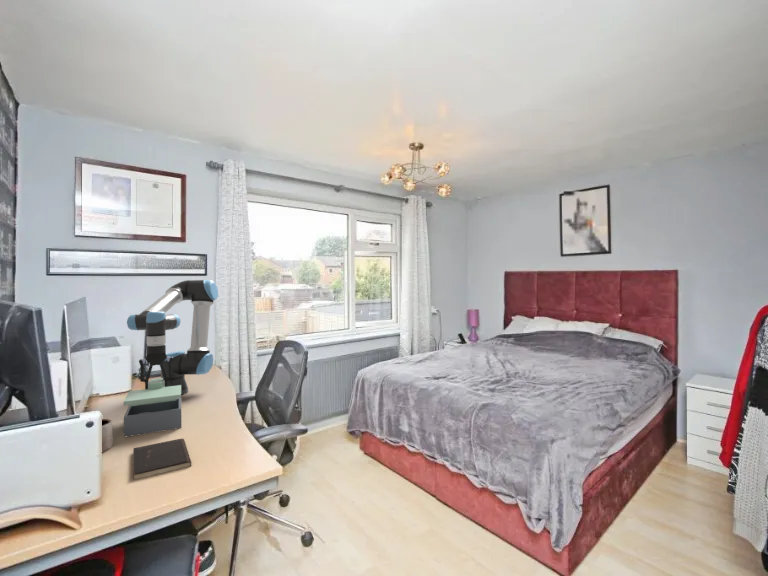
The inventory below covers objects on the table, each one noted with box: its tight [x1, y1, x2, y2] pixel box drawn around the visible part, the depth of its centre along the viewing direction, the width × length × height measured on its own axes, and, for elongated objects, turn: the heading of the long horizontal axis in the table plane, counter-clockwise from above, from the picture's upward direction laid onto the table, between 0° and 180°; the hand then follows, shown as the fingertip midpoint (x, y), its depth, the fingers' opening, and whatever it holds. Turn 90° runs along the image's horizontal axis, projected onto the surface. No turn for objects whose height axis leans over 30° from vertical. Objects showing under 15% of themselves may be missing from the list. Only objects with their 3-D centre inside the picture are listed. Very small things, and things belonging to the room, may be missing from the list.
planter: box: [101, 418, 113, 453], centre depth 135 cm, size 11×11×10 cm
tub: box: [123, 397, 182, 438], centre depth 160 cm, size 18×20×8 cm
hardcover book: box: [132, 437, 192, 480], centre depth 127 cm, size 16×23×2 cm
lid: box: [123, 377, 182, 406], centre depth 164 cm, size 27×20×5 cm
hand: (156, 395), depth 172 cm, fingers closed on lid, 5 cm apart
